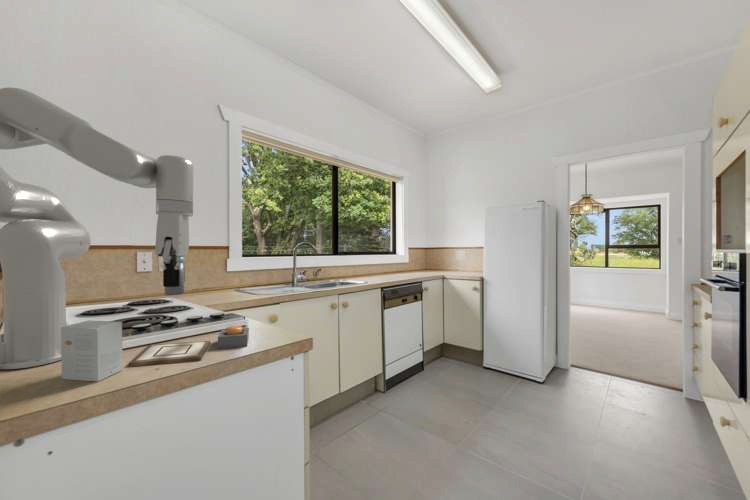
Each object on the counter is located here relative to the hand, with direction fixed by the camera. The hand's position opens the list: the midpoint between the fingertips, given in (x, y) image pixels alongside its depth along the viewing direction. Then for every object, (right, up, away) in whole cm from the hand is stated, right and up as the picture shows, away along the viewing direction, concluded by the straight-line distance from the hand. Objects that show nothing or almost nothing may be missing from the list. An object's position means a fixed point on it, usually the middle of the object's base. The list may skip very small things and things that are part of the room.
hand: (174, 284), depth 76 cm
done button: (+10, -15, +9) cm, 20 cm away
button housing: (+10, -17, +9) cm, 22 cm away
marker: (0, -2, 0) cm, 2 cm away
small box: (-9, -17, -12) cm, 23 cm away
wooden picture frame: (-1, -17, +1) cm, 17 cm away
